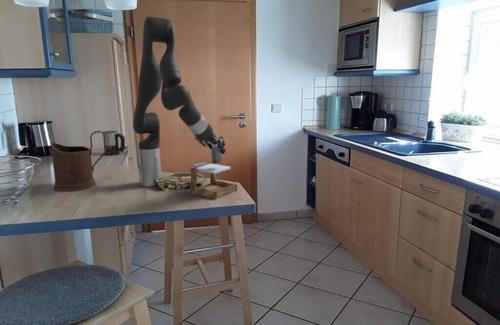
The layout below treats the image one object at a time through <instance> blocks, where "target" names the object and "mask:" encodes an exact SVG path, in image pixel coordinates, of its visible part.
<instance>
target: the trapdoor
mask: <svg viewBox="0 0 500 325" xmlns="http://www.w3.org/2000/svg"><path fill="white" fill-rule="evenodd" d="M191 167H196V172H204V173H209V174H211V173H214V174H216V175H217V174H218V173H221V172H225V171H228V170H231V169H232V168H231V166H228V165H221V164H218V163H216V164H212V163H208V162H203V161H202V162H199V163H194V164H192V165H190V168H191Z"/></svg>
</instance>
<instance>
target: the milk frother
mask: <svg viewBox="0 0 500 325" xmlns="http://www.w3.org/2000/svg"><path fill="white" fill-rule="evenodd" d="M102 132H103V133H104V134H105V141H106V153H105V154H104V156H115V155H119V154H120V152H122V151H125V150H126V149H127V148H128V146H126V140H125V139H126V136H124V134H123V133H117V132H118V131H117V130H106V131H105V130H103V131H102ZM119 139H120V145H119ZM102 140H103V143H104V136H103V135H102ZM119 146H120V147H119ZM103 150H104V152H105V146H104V145H103ZM104 152H103V153H104Z"/></svg>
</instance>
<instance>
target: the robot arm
mask: <svg viewBox="0 0 500 325" xmlns="http://www.w3.org/2000/svg"><path fill="white" fill-rule="evenodd" d="M174 28H175V26H174V23H173V21H171V19H169V18H163V17H157V16H156V17H155V16H147V17H145V19H144V22H143V28H142V30H143V31H142V50H141V51H142V52H141V62H140V69H139V77H138V85H137V86H138V87H137V97H136V103H135V108H134V113H133V118H132V127H133V131H134V132H135V133H136V134H138V135H143V134H148V135H147V136H146V137H145V138H144V139H142V140H140V141H139V142H138V157H139V164H138V174H139V175H138V177H139V185H141V186H142V187H146V188H149V187H151V186H152V187H158V186H159V185H158V183H157V182H156V181H155V179H157V178H161V177H162V168H161V165H162V164H161V150H160V141H161V133H160V131H161V129H160V128H161V127H160V126H161V125H160V124H161V123H160V118H159V115H158V114H157V113H156V112H153V111H152V112H147V111H148V107H149V106H150V104H151V103H152V102H153V100H154V99H155V98H156V97H157V95H158V94H159V93H160V100H161V101H160V102H161V104H162V106H163V107H164V108H165V110H168V111H175V110H176V109H178V108H180V109H179V111H178V116H179V118H180V119H181V120H182V122H183V123H184V124H185V126H186V127H187V128H188V130H189V131H190V132H191V133H192V135H193V136H194V137H195V139H194V140H196V141H197V142H198V143H200V144H201V145H202V147H207V148H208V149H209V150H210V151H211V145H212V146H214V147H216V148H218V150H219V151H220V152H221V153H222V155H224V154H226V149H225V146H226V142H225V140H224V138H223V137H222V136H221V135H220V136H219V137H218V136H217V135H216V134H214V129H213V127H212V125H211V124H210V123H209V121H208V120H207V119H206V118H205V117H204V116H203V114H202V113H201V112H200V111H199V110H198V109H197V107H196V105H195V103H194V102H193V98H192V95H191V93H190V90H189V89H188V87H187V86H185V85H183V84H181V83H182V76H181V72H180V69H179V64H178V58H177V46H176V45H177V44H176V35H175V29H174ZM153 43H159V44H165V45H166V48H165V52H164V53H163V55H162V57H161V58H160V60H159V63H158V61H157V59H156V56H155V54H154V50H153ZM160 91H161V92H160ZM214 143H215V144H214ZM218 144H219V146H218ZM157 185H158V186H157ZM152 187H151V188H152Z"/></svg>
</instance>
